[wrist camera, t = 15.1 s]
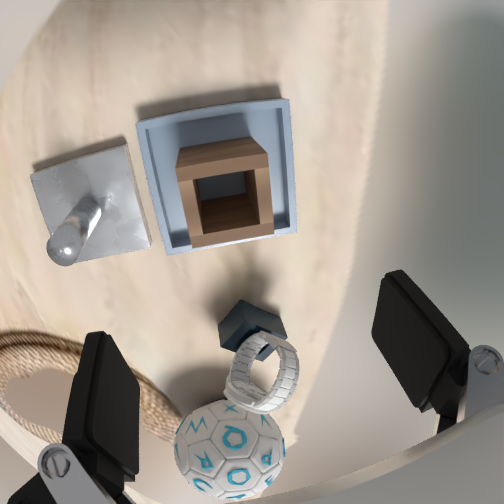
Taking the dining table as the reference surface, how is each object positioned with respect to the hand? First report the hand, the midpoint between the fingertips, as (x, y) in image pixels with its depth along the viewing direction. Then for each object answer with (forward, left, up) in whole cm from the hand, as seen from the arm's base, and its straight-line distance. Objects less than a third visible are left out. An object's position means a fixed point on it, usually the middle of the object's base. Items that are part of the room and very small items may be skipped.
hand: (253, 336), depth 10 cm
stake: (-11, 0, -18) cm, 21 cm away
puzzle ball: (-5, -34, -18) cm, 39 cm away
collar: (0, 0, -17) cm, 17 cm away
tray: (0, 0, -18) cm, 18 cm away
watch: (+1, -17, -18) cm, 25 cm away
